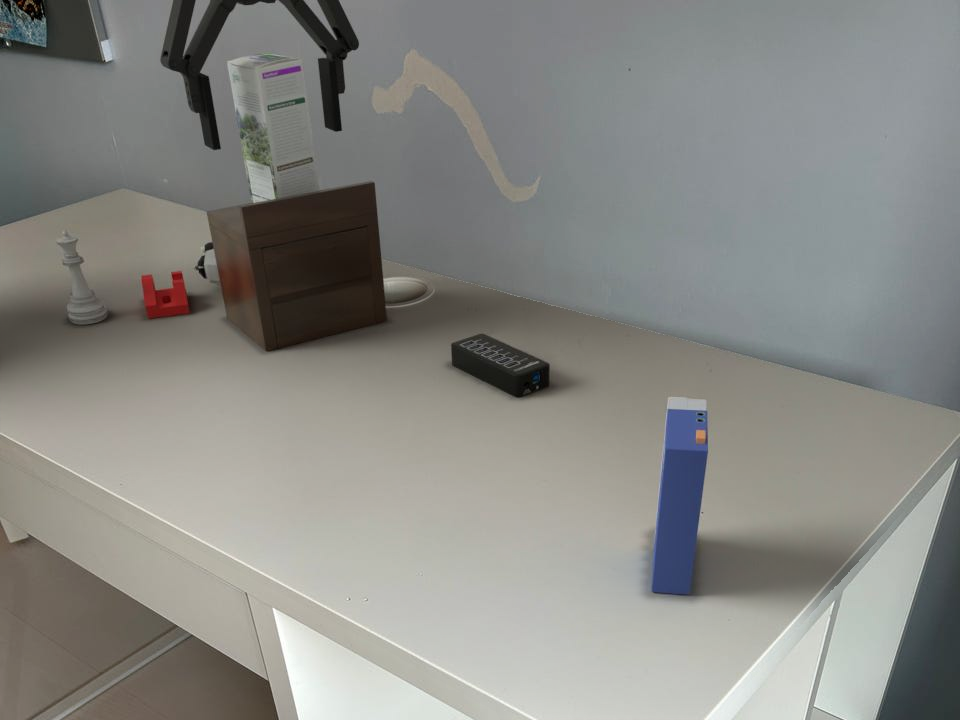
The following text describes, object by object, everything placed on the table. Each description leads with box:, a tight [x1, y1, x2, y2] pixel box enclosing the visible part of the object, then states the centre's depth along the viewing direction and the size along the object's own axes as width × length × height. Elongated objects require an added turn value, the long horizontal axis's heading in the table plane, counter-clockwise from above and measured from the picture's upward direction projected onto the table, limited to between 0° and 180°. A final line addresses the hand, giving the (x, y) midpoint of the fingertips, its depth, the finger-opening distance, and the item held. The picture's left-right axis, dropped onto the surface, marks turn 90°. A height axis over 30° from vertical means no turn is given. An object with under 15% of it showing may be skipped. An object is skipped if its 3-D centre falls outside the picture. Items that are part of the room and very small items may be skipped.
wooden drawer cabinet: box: [206, 180, 388, 352], centre depth 110 cm, size 12×15×15 cm
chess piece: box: [55, 230, 109, 326], centre depth 114 cm, size 4×4×10 cm
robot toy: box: [192, 241, 221, 287], centre depth 125 cm, size 12×4×15 cm
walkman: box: [651, 396, 709, 595], centre depth 70 cm, size 8×3×12 cm, turn 170°
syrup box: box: [226, 53, 321, 203], centre depth 103 cm, size 6×6×14 cm
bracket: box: [140, 270, 190, 319], centre depth 118 cm, size 6×5×3 cm
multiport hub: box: [450, 333, 551, 398], centre depth 100 cm, size 4×11×2 cm, turn 39°
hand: (274, 138), depth 103 cm, fingers open, 13 cm apart
